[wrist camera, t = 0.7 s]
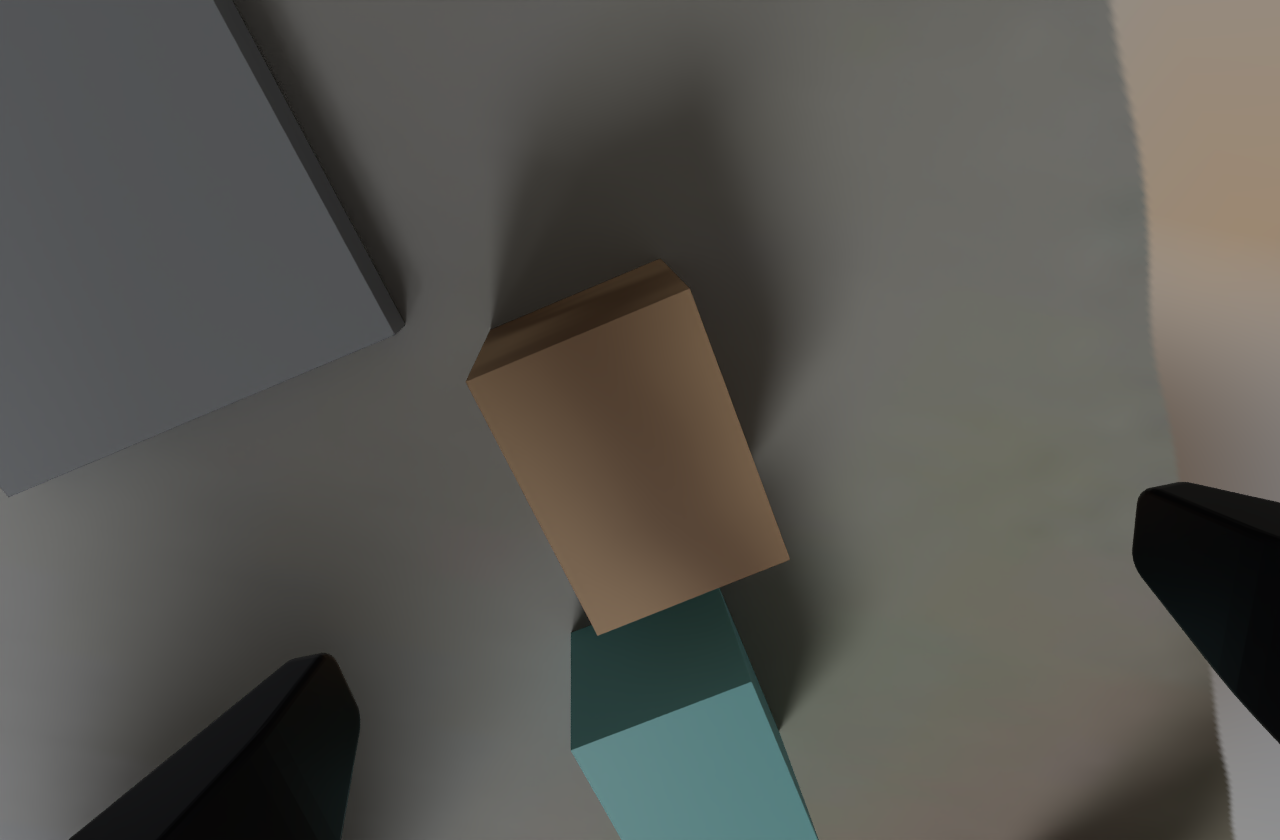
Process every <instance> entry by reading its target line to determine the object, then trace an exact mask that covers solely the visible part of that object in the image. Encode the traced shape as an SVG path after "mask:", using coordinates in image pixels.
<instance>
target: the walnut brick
mask: <svg viewBox="0 0 1280 840" xmlns="http://www.w3.org/2000/svg"><path fill="white" fill-rule="evenodd" d="M466 383H467V385H468V387H469V389H470V391H471V393H472V395H473V397H474V399H475V401H476V403H477V405H478V407H479V408H480V410H481V412H482V414H483V416H484V418H485V420H486V422H487V424H488V426H489V428H490V430H491V432H492V433H493V435H494V437H495V439H496V441H497V443H498V445H499V447H500V449H501V451H502V453H503V455H504V457H505V459H506V460H507V462H508V464H509V466H510V468H511V470H512V472H513V474H514V476H515V478H516V480H517V482H518V484H519V485H520V487H521V489H522V491H523V493H524V495H525V497H526V499H527V501H528V503H529V505H530V507H531V509H532V511H533V512H534V514H535V516H536V518H537V520H538V522H539V524H540V526H541V528H542V530H543V532H544V534H545V536H546V537H547V539H548V541H549V543H550V545H551V547H552V549H553V551H554V553H555V555H556V557H557V559H558V561H559V563H560V564H561V566H562V568H563V570H564V572H565V574H566V576H567V578H568V580H569V582H570V584H571V586H572V588H573V589H574V591H575V593H576V595H577V597H578V599H579V601H580V603H581V605H582V607H583V609H584V611H585V613H586V615H587V616H588V618H589V620H590V622H591V624H592V626H593V628H594V630H595V632H596V634H597V636H598V635H601V634H604V633H606V632H609V631H611V630H614V629H616V628H619V627H621V626H624V625H626V624H629V623H631V622H634V621H636V620H639V619H641V618H644V617H646V616H649V615H652V614H654V613H657V612H659V611H662V610H664V609H667V608H669V607H672V606H674V605H677V604H679V603H682V602H684V601H687V600H689V599H692V598H694V597H697V596H700V595H702V594H705V593H707V592H710V591H712V590H715V589H717V588H720V587H722V586H725V585H727V584H730V583H732V582H735V581H737V580H740V579H742V578H745V577H748V576H750V575H753V574H755V573H758V572H760V571H763V570H765V569H768V568H770V567H773V566H775V565H778V564H780V563H783V562H785V561H788V560H790V558H789V555H788V552H787V550H786V547H785V544H784V541H783V539H782V536H781V533H780V531H779V528H778V525H777V523H776V520H775V517H774V514H773V512H772V509H771V506H770V504H769V501H768V498H767V496H766V493H765V490H764V487H763V485H762V482H761V479H760V477H759V474H758V471H757V469H756V466H755V463H754V461H753V458H752V455H751V452H750V450H749V447H748V444H747V442H746V439H745V436H744V434H743V431H742V428H741V425H740V423H739V420H738V417H737V415H736V412H735V409H734V407H733V404H732V401H731V398H730V396H729V393H728V390H727V388H726V385H725V382H724V380H723V377H722V374H721V371H720V369H719V366H718V363H717V361H716V358H715V355H714V353H713V350H712V347H711V345H710V342H709V339H708V336H707V334H706V331H705V328H704V326H703V323H702V320H701V318H700V315H699V312H698V309H697V307H696V304H695V301H694V299H693V296H692V293H691V291H690V288H689V287H688V286H687V285H686V284H685V283H684V282H683V281H682V280H681V279H680V278H679V277H678V276H677V275H676V274H675V273H674V272H673V271H672V270H671V269H670V268H669V267H668V266H667V265H666V264H665V263H664V262H663V261H662V260H661V259H658V260H656V261H653V262H651V263H648V264H646V265H644V266H641V267H639V268H637V269H634V270H632V271H629V272H627V273H625V274H622V275H620V276H617V277H615V278H613V279H610V280H608V281H606V282H603V283H601V284H598V285H596V286H594V287H591V288H589V289H586V290H584V291H582V292H579V293H577V294H575V295H572V296H570V297H567V298H565V299H563V300H560V301H558V302H555V303H553V304H551V305H548V306H546V307H544V308H541V309H539V310H536V311H534V312H532V313H529V314H527V315H524V316H522V317H520V318H517V319H515V320H512V321H510V322H508V323H505V324H503V325H501V326H498V327H496V328H493V329H491V330H490V332H489V334H488V336H487V338H486V340H485V342H484V344H483V346H482V349H481V351H480V353H479V355H478V357H477V359H476V361H475V363H474V365H473V368H472V370H471V372H470V374H469V376H468V378H467V380H466Z"/></svg>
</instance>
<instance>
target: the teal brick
mask: <svg viewBox="0 0 1280 840" xmlns="http://www.w3.org/2000/svg"><path fill="white" fill-rule="evenodd" d="M571 752H572V753H573V755H574V757H575V759H576V760H577V762H578V764H579V766H580V767H581V769H582V771H583V773H584V775H585V776H586V778H587V780H588V782H589V783H590V785H591V787H592V789H593V790H594V792H595V794H596V796H597V797H598V799H599V801H600V803H601V804H602V806H603V808H604V810H605V811H606V813H607V815H608V817H609V819H610V820H611V822H612V824H613V826H614V827H615V829H616V831H617V833H618V834H619V836H620V838H621V840H819V839H818V837H817V834H816V831H815V828H814V826H813V823H812V820H811V818H810V815H809V812H808V809H807V807H806V804H805V801H804V798H803V796H802V793H801V790H800V788H799V785H798V782H797V779H796V777H795V774H794V771H793V769H792V766H791V763H790V760H789V758H788V755H787V752H786V749H785V747H784V744H783V741H782V739H781V736H780V733H779V731H778V728H777V726H776V723H775V721H774V718H773V716H772V714H771V711H770V709H769V706H768V704H767V702H766V699H765V697H764V694H763V692H762V689H761V687H760V685H759V682H758V680H757V677H756V675H755V673H754V670H753V668H752V665H751V663H750V661H749V658H748V656H747V653H746V651H745V648H744V646H743V644H742V641H741V639H740V636H739V634H738V632H737V629H736V627H735V624H734V622H733V620H732V617H731V615H730V612H729V610H728V607H727V605H726V603H725V600H724V598H723V595H722V593H721V591H720V588H717V589H715V590H712V591H710V592H707V593H705V594H702V595H700V596H697V597H694V598H692V599H689V600H687V601H684V602H682V603H679V604H677V605H674V606H672V607H669V608H667V609H664V610H662V611H659V612H657V613H654V614H652V615H649V616H646V617H644V618H641V619H639V620H636V621H634V622H631V623H629V624H626V625H624V626H621V627H619V628H616V629H614V630H611V631H609V632H606V633H604V634H601V635H598V636H597V634H596V632H595V630H594V628H593V626H592V625H590V626H587V627H585V628H582V629H580V630H577V631H574V632H572V633H571Z"/></svg>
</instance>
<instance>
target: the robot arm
mask: <svg viewBox="0 0 1280 840" xmlns="http://www.w3.org/2000/svg"><path fill="white" fill-rule="evenodd" d="M1132 555H1133V561H1134V564H1135V567H1136V569H1137V571H1138V573H1139V574H1140V576H1141V577H1142V578H1143V580H1144V581H1145V582H1146V584H1147V585H1148V586H1149V587H1150V589H1151V590H1152V591H1153V593H1154V594H1155V595H1156V596H1157V598H1158V599H1159V600H1160V601H1161V603H1162V604H1163V605H1164V607H1165V608H1166V609H1167V610H1168V612H1169V613H1170V614H1171V615H1172V617H1173V618H1174V619H1175V621H1176V622H1177V623H1178V624H1179V626H1180V627H1181V628H1182V630H1183V631H1184V632H1185V633H1186V635H1187V636H1188V637H1189V638H1190V640H1191V641H1192V642H1193V644H1194V645H1195V646H1196V647H1197V649H1198V650H1199V651H1200V653H1201V654H1202V655H1203V656H1204V658H1205V659H1206V660H1207V661H1208V663H1209V664H1210V665H1211V667H1212V668H1213V669H1214V670H1215V672H1216V673H1217V674H1218V675H1219V677H1220V678H1221V679H1222V680H1223V681H1224V683H1225V684H1226V685H1227V686H1228V687H1229V689H1230V690H1231V691H1232V692H1233V693H1234V695H1235V696H1236V697H1237V698H1238V699H1239V700H1240V701H1241V702H1242V704H1243V705H1244V706H1245V707H1246V708H1247V709H1248V710H1249V711H1250V712H1251V714H1252V715H1253V716H1254V717H1255V718H1256V719H1257V720H1258V721H1259V722H1260V723H1261V724H1262V726H1263V727H1264V728H1265V729H1266V730H1267V731H1268V732H1269V733H1270V734H1271V735H1272V736H1273V737H1274V738H1275V739H1276V740H1277V741H1278V742H1279V744H1280V503H1279V502H1274V501H1270V500H1266V499H1261V498H1257V497H1252V496H1248V495H1243V494H1239V493H1235V492H1230V491H1225V490H1221V489H1217V488H1212V487H1208V486H1203V485H1199V484H1194V483H1189V482H1177V483H1172V484H1167V485H1162V486H1157V487H1152V488H1148V489H1146V490H1145V491H1143V492H1142V493H1141V494H1140V496H1139V498H1138V501H1137V508H1136V518H1135V528H1134V537H1133V547H1132ZM359 731H360V714H359V710H358V706H357V704H356V702H355V699H354V697H353V695H352V693H351V691H350V689H349V687H348V684H347V682H346V680H345V678H344V676H343V674H342V671H341V669H340V667H339V665H338V663H337V661H336V660H335V658H334V657H333V656H332V655H330V654H327V653H320V654H315V655H310V656H305V657H300V658H295V659H292V660H290V661H288V662H287V663H285V664H284V665H283V666H282V667H280V668H279V669H278V670H277V671H276V672H274V673H273V674H272V675H271V676H269V677H268V678H267V679H266V680H264V681H263V682H262V683H261V684H260V685H258V686H257V687H256V688H255V689H253V690H252V691H251V692H250V693H248V694H247V695H246V696H245V697H244V698H242V699H241V700H240V701H239V702H237V703H236V704H235V705H234V706H232V707H231V708H230V709H229V710H228V711H226V712H225V713H224V714H223V715H221V716H220V717H219V718H218V719H216V720H215V721H214V722H213V723H212V724H210V725H209V726H208V727H207V728H205V729H204V730H203V731H202V732H200V733H199V734H198V735H197V736H196V737H194V738H193V739H192V740H191V741H189V742H188V743H187V744H186V745H184V746H183V747H182V748H181V749H179V750H178V751H177V752H176V753H175V754H173V755H172V756H171V757H170V758H168V759H167V760H166V761H165V762H163V763H162V764H161V765H160V766H159V767H157V768H156V769H155V770H154V771H152V772H151V773H150V774H149V775H147V776H146V777H145V778H144V779H143V780H141V781H140V782H139V783H138V784H136V785H135V786H134V787H133V788H131V789H130V790H129V791H128V792H127V793H125V794H124V795H123V796H122V797H120V798H119V799H118V800H117V801H115V802H114V803H113V804H112V805H111V806H109V807H108V808H107V809H106V810H104V811H103V812H102V813H101V814H99V815H98V816H97V817H96V818H95V819H93V820H92V821H91V822H90V823H88V824H87V825H86V826H85V827H83V828H82V829H81V830H80V831H79V832H77V833H76V834H75V835H74V836H72V837H71V838H70V839H69V840H341V837H342V831H343V825H344V819H345V813H346V808H347V802H348V796H349V790H350V784H351V778H352V772H353V767H354V761H355V755H356V749H357V743H358V737H359Z"/></svg>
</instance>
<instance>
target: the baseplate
mask: <svg viewBox="0 0 1280 840" xmlns="http://www.w3.org/2000/svg"><path fill="white" fill-rule="evenodd" d="M404 326H405V323H404V321H403V319H402V318H401V316H400V314H399V312H398V310H397V308H396V306H395V304H394V303H393V301H392V299H391V297H390V295H389V293H388V291H387V289H386V288H385V286H384V284H383V282H382V280H381V278H380V276H379V274H378V273H377V271H376V269H375V267H374V265H373V263H372V261H371V259H370V258H369V256H368V254H367V252H366V250H365V248H364V246H363V244H362V243H361V241H360V239H359V237H358V235H357V233H356V231H355V229H354V228H353V226H352V224H351V222H350V220H349V218H348V216H347V215H346V213H345V211H344V209H343V207H342V205H341V203H340V201H339V200H338V198H337V196H336V194H335V192H334V190H333V188H332V186H331V185H330V183H329V181H328V179H327V177H326V175H325V173H324V171H323V170H322V168H321V166H320V164H319V162H318V160H317V158H316V156H315V155H314V153H313V151H312V149H311V147H310V145H309V143H308V141H307V140H306V138H305V136H304V134H303V132H302V130H301V128H300V126H299V125H298V123H297V121H296V119H295V117H294V115H293V113H292V111H291V110H290V108H289V106H288V104H287V102H286V100H285V98H284V96H283V95H282V93H281V91H280V89H279V87H278V85H277V83H276V81H275V80H274V78H273V76H272V74H271V72H270V70H269V68H268V67H267V65H266V63H265V61H264V59H263V57H262V55H261V53H260V52H259V50H258V48H257V46H256V44H255V42H254V40H253V38H252V37H251V35H250V33H249V31H248V29H247V27H246V25H245V23H244V22H243V20H242V18H241V16H240V14H239V12H238V10H237V8H236V7H235V5H234V3H233V1H232V0H0V487H1V489H2V490H3V491H4V492H5V493H6V495H7V496H8V497H10V496H13V495H15V494H18V493H20V492H22V491H25V490H27V489H29V488H32V487H34V486H37V485H39V484H41V483H44V482H46V481H49V480H51V479H53V478H56V477H58V476H60V475H63V474H65V473H68V472H70V471H72V470H75V469H77V468H79V467H82V466H84V465H87V464H89V463H91V462H94V461H96V460H99V459H101V458H103V457H106V456H108V455H110V454H113V453H115V452H118V451H120V450H122V449H125V448H127V447H129V446H132V445H134V444H137V443H139V442H141V441H144V440H146V439H149V438H151V437H153V436H156V435H158V434H160V433H163V432H165V431H168V430H170V429H172V428H175V427H177V426H179V425H182V424H184V423H187V422H189V421H191V420H194V419H196V418H199V417H201V416H203V415H206V414H208V413H210V412H213V411H215V410H218V409H220V408H222V407H225V406H227V405H229V404H232V403H234V402H237V401H239V400H241V399H244V398H246V397H249V396H251V395H253V394H256V393H258V392H260V391H263V390H265V389H268V388H270V387H272V386H275V385H277V384H279V383H282V382H284V381H287V380H289V379H291V378H294V377H296V376H299V375H301V374H303V373H306V372H308V371H310V370H313V369H315V368H318V367H320V366H322V365H325V364H327V363H329V362H332V361H334V360H337V359H339V358H341V357H344V356H346V355H348V354H351V353H353V352H356V351H358V350H360V349H363V348H365V347H368V346H370V345H372V344H375V343H377V342H379V341H382V340H384V339H387V338H389V337H391V336H394V335H395V334H396V333H397V332H399V331H400V330H401V329H402V328H403V327H404Z"/></svg>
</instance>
